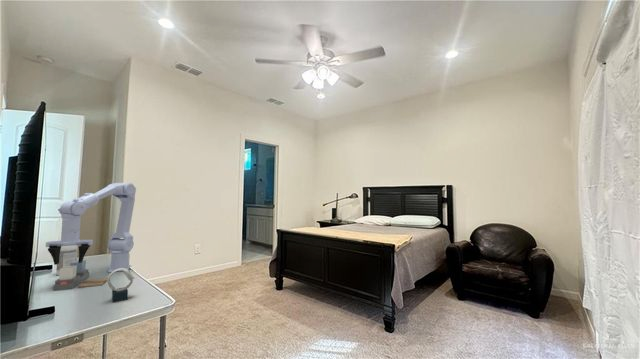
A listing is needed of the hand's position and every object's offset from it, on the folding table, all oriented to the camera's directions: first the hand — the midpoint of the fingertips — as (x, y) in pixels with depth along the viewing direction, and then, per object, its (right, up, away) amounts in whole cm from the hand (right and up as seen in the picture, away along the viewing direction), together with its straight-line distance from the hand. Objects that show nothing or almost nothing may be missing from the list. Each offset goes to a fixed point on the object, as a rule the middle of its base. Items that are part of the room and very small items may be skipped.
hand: (68, 263), depth 110 cm
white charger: (0, -8, 0) cm, 8 cm away
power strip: (-3, -10, +7) cm, 12 cm away
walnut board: (+7, -10, +4) cm, 13 cm away
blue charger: (-4, -8, +9) cm, 13 cm away
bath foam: (-17, -10, +16) cm, 25 cm away
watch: (+30, -10, -12) cm, 34 cm away
